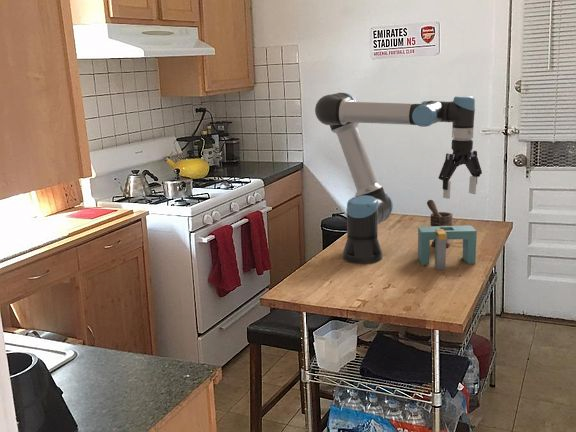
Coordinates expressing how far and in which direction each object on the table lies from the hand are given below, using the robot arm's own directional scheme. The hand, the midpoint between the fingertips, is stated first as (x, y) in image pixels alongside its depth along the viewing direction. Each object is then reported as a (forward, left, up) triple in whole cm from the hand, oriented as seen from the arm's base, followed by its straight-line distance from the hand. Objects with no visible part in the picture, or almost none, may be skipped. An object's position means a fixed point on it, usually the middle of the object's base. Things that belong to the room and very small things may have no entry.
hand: (459, 195), depth 248 cm
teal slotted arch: (-5, -3, -24) cm, 25 cm away
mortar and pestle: (-4, +16, -24) cm, 29 cm away
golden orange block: (-9, -12, -24) cm, 29 cm away
